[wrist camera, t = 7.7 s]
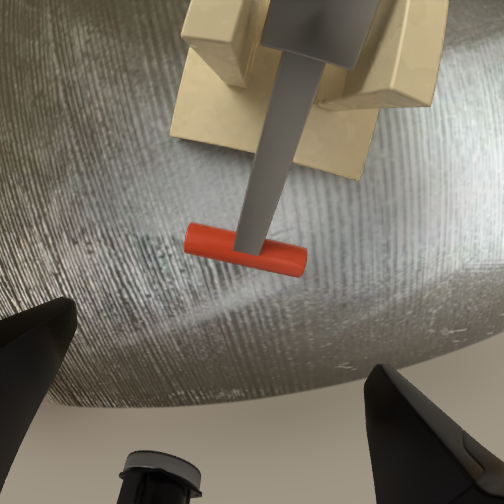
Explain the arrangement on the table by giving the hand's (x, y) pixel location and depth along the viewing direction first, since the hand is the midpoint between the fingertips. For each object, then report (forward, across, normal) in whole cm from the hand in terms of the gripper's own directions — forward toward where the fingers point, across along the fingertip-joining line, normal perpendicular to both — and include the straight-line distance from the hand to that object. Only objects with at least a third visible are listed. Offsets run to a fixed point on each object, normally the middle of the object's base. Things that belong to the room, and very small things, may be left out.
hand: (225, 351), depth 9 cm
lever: (+4, 0, -6) cm, 7 cm away
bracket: (+9, 0, -9) cm, 13 cm away
